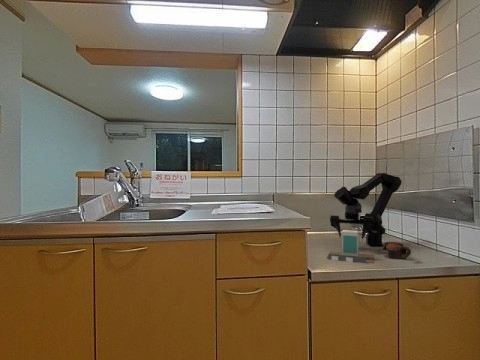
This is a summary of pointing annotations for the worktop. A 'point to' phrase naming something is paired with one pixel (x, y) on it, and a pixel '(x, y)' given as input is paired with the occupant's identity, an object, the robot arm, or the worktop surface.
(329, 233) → the worktop surface
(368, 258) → the shelf board
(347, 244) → the carton
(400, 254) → the pottery mug
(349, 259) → the rail
